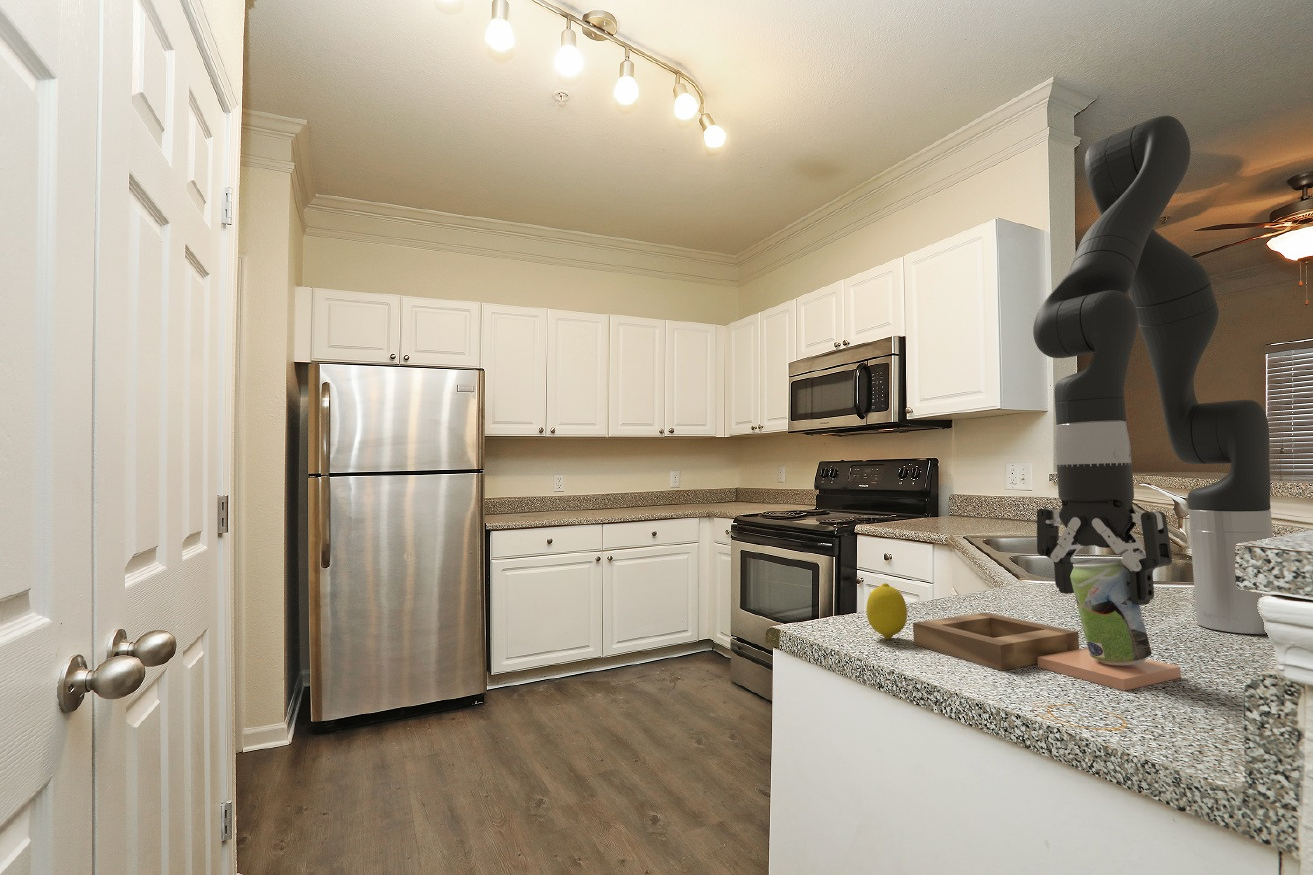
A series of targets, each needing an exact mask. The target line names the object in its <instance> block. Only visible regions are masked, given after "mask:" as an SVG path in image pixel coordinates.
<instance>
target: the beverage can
mask: <svg viewBox="0 0 1313 875" xmlns="http://www.w3.org/2000/svg"><path fill="white" fill-rule="evenodd" d="M1122 561H1123V560H1122V559H1121V558H1115V557H1110V558H1109V557H1105V558H1104V557H1103V558H1093V559H1092V558H1091V559H1085V560H1079V561H1076V562H1074V564H1073V567H1074V568H1073V570H1072V572H1071V575H1070V578H1071V582H1072V586H1073V590H1074V593H1073V594H1074V597H1075V601H1076V605H1077V609H1078V610H1077V611H1078V614H1079V617H1080V621H1081V626H1082V629H1083V633H1084V637H1085V642H1086V646H1087V648H1088V650H1089V654H1090V656H1091V657H1093V658H1095V659H1098V660H1099V662H1101V663H1103V664H1107V665H1116V666H1125V665H1135V664H1139V663H1142V662H1144V661H1145V660H1146V659H1147V658H1149V657H1151V655H1152V654H1153V653H1152V648H1151V645H1150V640H1149V637H1148V633H1147V629H1146V626H1145V622H1144V618H1143V614H1142V610H1141V605H1136V604H1133V603H1132V602H1131V590H1130V576H1129V571H1131V570H1130V568H1129V567H1127V566H1126V565H1125V564H1124V563H1123V562H1122Z"/></svg>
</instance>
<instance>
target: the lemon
mask: <svg viewBox="0 0 1313 875" xmlns="http://www.w3.org/2000/svg"><path fill="white" fill-rule="evenodd" d="M868 595H869V596H868V598H867V601H866V618H867V621H868V623H869V625H870V626H871V628H872V629H873V630H874V631H875V632H877V633H878V634H879V635H880V634H881V635H882V637H883V638H884V639H886V640H890V639H891V638H892V637H893V636H895V635H897V634H899V633H901V631H902V630H904V628H905V626H906V624H907V620H908V608H907V604H906V601H905V600H906V599H905V598H904V596H903V594H901V592H900V591H899V590H898V589H896V588H895V587H893V586H891V585H889V583H887V582H885V583H882V584H881V585H880V586H878V587H876V588H874V589H873V590H872V591H871V592H870V593H869V594H868Z"/></svg>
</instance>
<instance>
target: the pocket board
mask: <svg viewBox="0 0 1313 875" xmlns="http://www.w3.org/2000/svg"><path fill="white" fill-rule="evenodd" d="M912 629H913V631H912V633H913V645H914V646H918V647H921V648H924V649H927V650H931V651H934V652H938V653H941V654H944V655H947V656H952V657H955V658H958V659H961V660H965V661H968V662H971V663H975V664H978V665H982V666H985V667H988V668H991V669H995V670H999V671H1001V672H1002V671H1006V670H1011V669H1017V668H1022V667H1028V666H1033V665H1038V657H1040V656H1046V655H1051V654H1056V653H1062V652H1067V651H1072V650H1078V649H1080V641H1079V638H1080V637H1079V631H1077V630H1071V629H1067V628H1061V627H1057V626H1053V625H1047V624H1043V623H1038V622H1034V621H1029V620H1024V619H1020V618H1019V619H1018V618H1014V617H1009V616H1007V615H1006V616H1004V615H1002V614H1001V615H999V614H996V613H989V612H977V613H972V614H965V615H958V616H957V615H956V616H950V617H945V618H943V617H942V618H936V619H930V620H922V621H915V622H912Z"/></svg>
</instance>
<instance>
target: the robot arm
mask: <svg viewBox="0 0 1313 875" xmlns="http://www.w3.org/2000/svg"><path fill="white" fill-rule="evenodd" d="M1190 159H1191V144H1190V138H1189V135H1188V133H1187V131H1186V129H1185V126H1184V125H1183V123H1181V121H1180V120H1179V119H1178V118H1176V117H1174V116H1171V115H1160V116H1157V117H1153V118H1150V119H1148V120H1145V121H1142V122H1139V123H1138V124H1136V125H1133V126H1131V127H1128V128H1126V129H1123V130H1121V131H1119V132H1117V133H1114V134H1111V135H1110V136H1108V137H1106V138H1102V139H1100V140H1099V141H1097V142H1095V143H1093V144H1091V145H1090V146H1089V147H1088V148H1087V150H1086V153H1085V156H1084V170H1085V177H1086V181H1087V184H1088V188H1089V190H1090V192H1091V195H1092V198H1093V200H1094V203H1095V205H1096V207H1097V209H1098V212H1099V214H1100V216H1099V217H1098V218H1097V219H1096V220H1095V221H1094V223H1093V224H1092V225H1091V226H1090V227H1089V229H1087V231H1086V233H1085V234H1084V235H1083V236H1082V238H1081V240H1080V242H1079V245H1078V247H1077V249H1076V252H1075V254H1074V255H1075V256H1074V257H1073V261H1072V263H1071V266H1070V268H1069V271H1068V273H1067V274H1066V275H1065V276H1064V277H1063V278H1062V279H1061V280H1060V281H1059V283H1058V284H1057V286H1055V288H1054V289H1053V290H1052V291H1051V293H1050V294H1049V295H1048V297H1047V298H1046V299H1045V300H1044V301H1043V302H1042V304H1041V306H1040V308H1039V309H1038V312H1036V316H1035V318H1034V322H1033V329H1032V330H1033V340H1034V343H1035V345H1036V347H1037V349H1038V350H1039V351H1040V352H1041V353H1042V354H1044V355H1045V356H1047V357H1049V358H1052V359H1066V358H1073V357H1077V356H1078V357H1079V356H1084V355H1091V354H1093V355H1092V357H1091V359H1090V362H1089V363H1088V365H1087V366H1086V367H1085V368H1084V369H1082V370H1080V371H1078V372H1076V373H1072V374H1070V375H1067V376H1065V377H1062V378H1060V379H1059V380H1058V381H1057V382H1056V384H1055V385H1054V409H1055V410H1054V411H1055V424H1056V430H1055V431H1056V432H1055V444H1054V445H1055V459H1056V463H1055V464H1056V475H1057V476H1056V477H1057V479H1056V480H1057V490H1058V498H1059V500H1060V501H1061V507H1060V509H1057V508H1056V507H1047V508H1044V507H1043V508H1038V509H1037V511H1036V553H1037V554H1038V555H1039V556H1041V557H1043V556H1044V557H1047V558H1049V559H1050V560H1051V561H1052V562H1053V566H1054V568H1053V570H1054V581H1055V583H1054V584H1055V586H1056V588H1057V589H1058V591H1059V593H1060V594H1065V595H1069V594H1074V590H1073V586H1072V582H1071V578H1070V575H1071V572H1072V570H1073V568H1074V567H1073V564H1074V563H1075V562H1073V559H1074V558H1075V555H1077V553H1078V552H1079V550H1080V549H1083V547H1090V546H1096V547H1098V548H1103V549H1104V548H1105V549H1109V548H1111V550H1112V551H1114V553H1115V554H1117V555H1118V556H1120V557H1121V558H1122V559H1123V560H1124V562H1125V563H1126V564H1127V565H1128V566H1129V569H1131V570H1130V571H1129V576H1130V590H1131V602H1132V603H1133V604H1136V605H1139V606H1143V605H1149V604H1150V602H1151V600H1153V599H1154V596H1155V590H1154V587H1155V586H1154V575H1153V574H1154V570H1156V569H1158V568H1162V567H1167V566H1170V565H1171V564H1173V556H1172V551H1171V549H1172V548H1171V542H1170V537H1169V528H1168V523H1167V522H1168V520H1167V515H1166V514H1165V512H1163V511H1159V510H1158V511H1146V512H1145V511H1144V512H1140V513H1139V512H1136V510H1135V508H1134V506H1133V503H1134V502H1133V501H1134V498H1135V491H1134V490H1135V489H1134V488H1135V487H1134V475H1133V463H1132V446H1131V439H1130V434H1129V431H1128V426H1127V425H1128V424H1127V415H1126V401H1125V400H1126V399H1125V398H1126V397H1125V384H1126V376H1127V371H1128V369H1129V368H1128V367H1129V363H1130V359H1131V355H1132V354H1131V353H1132V351H1133V346H1134V344H1135V340H1136V335H1137V332H1138V328H1139V331H1140V334H1141V336H1142V339H1143V342H1144V345H1145V346H1146V350H1147V353H1148V356H1149V360H1150V363H1151V366H1152V370H1153V372H1154V377H1155V380H1156V384H1157V385H1156V386H1157V388H1158V392H1159V393H1158V394H1159V398H1160V402H1161V408H1162V413H1163V418H1164V422H1165V427H1166V432H1167V436H1168V439H1169V443H1170V445H1171V448H1172V450H1173V452H1174V454H1175V455H1176V457H1177V458H1178V459H1179V460H1180V461H1181V462H1183V463H1186V464H1191V465H1207V464H1208V465H1215V464H1219V465H1220V464H1230V468H1229V472H1228V473H1227V475H1225V476H1224V477H1223V478H1221V479H1219V480H1217V481H1215V482H1213V483H1210V484H1208V485H1205V486H1201V487H1197V488H1194V489H1191V490H1190V491H1189V492H1188V494H1187V508H1188V519H1189V520H1188V522H1189V532H1190V545H1191V547H1190V548H1191V559H1192V560H1191V562H1192V570H1193V571H1192V574H1193V575H1192V576H1193V586H1194V599H1195V600H1194V601H1195V614H1196V616H1195V617H1196V623H1197V625H1199V626H1201V627H1204V628H1207V629H1211V630H1217V631H1221V632H1228V633H1237V634H1247V635H1248V634H1249V635H1267V634H1266V632H1265V630H1264V622H1263V619H1262V618H1261V616H1260V614H1259V612H1258V609H1257V602H1258V599H1259V598H1260V597H1262V594H1260V593H1256V592H1250V591H1246V590H1240V589H1238V588H1237V587H1236V583H1235V545H1236V544H1237V543H1241V542H1248V541H1257V540H1262V539H1266V538H1270V537H1273V538H1274V533H1273V522H1272V520H1273V519H1272V510H1271V506H1272V505H1271V488H1272V487H1271V484H1272V483H1271V470H1270V467H1271V466H1270V465H1271V463H1270V448H1271V447H1270V443H1271V442H1270V426H1269V420H1268V416H1267V414H1266V411H1265V409H1264V407H1263V406H1262V405H1261V404H1260V403H1259V402H1257V401H1255V400H1253V399H1237V400H1227V401H1216V402H1215V401H1214V402H1204V403H1199V402H1198V400H1197V397H1196V393H1195V385H1194V383H1195V382H1194V381H1195V374H1196V371H1197V368H1198V365H1199V363H1200V360H1201V358H1202V356H1203V354H1204V352H1205V350H1206V348H1207V346H1208V345H1209V343H1210V341H1211V338H1212V337H1213V335H1214V332H1215V330H1216V327H1217V325H1218V322H1219V321H1218V320H1219V314H1220V312H1219V308H1218V303H1217V300H1216V297H1215V296H1216V295H1215V294H1214V293H1215V292H1214V289H1213V286H1212V283H1211V279H1210V277H1209V274H1208V271H1207V270H1206V268H1205V267H1204V266H1203V265H1202V264H1201V263H1200V262H1199V261H1198V260H1197V259H1195V258H1194V257H1193V256H1192V255H1190V254H1189V253H1188V252H1186V251H1184V250H1183V249H1182V248H1180V247H1178V246H1177V245H1176V244H1174V243H1173V242H1171V241H1170V240H1168V239H1166V238H1165V237H1163V235H1161V234H1159V233H1158V232H1157V231H1156V230H1155V229H1154V227H1155V226H1156V224H1157V222H1158V221H1159V219H1160V217H1161V215H1162V214H1163V212H1164V211H1165V209H1166V208H1167V206H1168V204H1169V203H1170V200H1172V197H1173V196H1174V194H1175V193H1176V190H1178V188H1179V186H1180V185H1181V183H1182V181H1183V179H1184V177H1185V175H1186V172H1188V168H1189V164H1190ZM1127 293H1128V295H1127ZM1061 523H1062V524H1063V525H1064V527H1065V530H1064V531H1063V532H1062V534H1061V536H1060V537H1059V534H1060V532H1059V530H1060V528H1059V526H1060V525H1061ZM1136 525H1137V529H1138V530H1140V532H1142V537H1143V538H1142V539H1143V543H1142V542H1141V541H1140V540H1139V538H1138V537H1137V535H1135V533H1133V529H1134V528H1135V526H1136Z"/></svg>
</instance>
